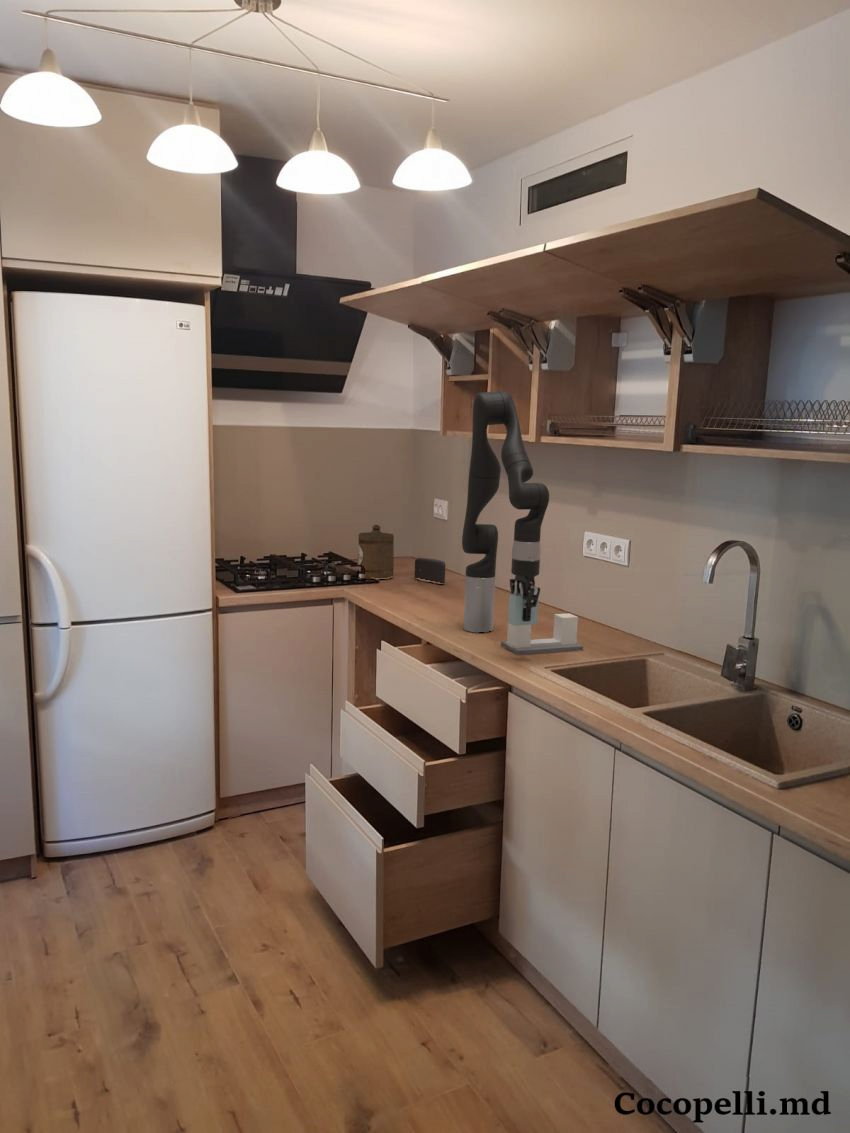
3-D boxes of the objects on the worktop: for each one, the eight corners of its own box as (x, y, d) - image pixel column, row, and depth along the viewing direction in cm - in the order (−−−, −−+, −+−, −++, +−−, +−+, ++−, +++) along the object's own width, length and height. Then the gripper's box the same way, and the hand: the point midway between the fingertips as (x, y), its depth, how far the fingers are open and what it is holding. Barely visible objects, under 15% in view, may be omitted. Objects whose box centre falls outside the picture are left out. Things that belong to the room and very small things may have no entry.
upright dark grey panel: (450, 584, 341) (451, 561, 340) (442, 586, 338) (443, 562, 336) (421, 579, 352) (421, 556, 351) (413, 580, 349) (414, 557, 347)
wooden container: (364, 573, 361) (365, 522, 358) (397, 575, 358) (399, 524, 354) (352, 579, 347) (353, 525, 344) (386, 581, 343) (388, 527, 340)
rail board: (500, 645, 247) (502, 614, 245) (563, 641, 254) (565, 611, 253) (517, 655, 237) (519, 622, 235) (583, 650, 244) (584, 619, 242)
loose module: (507, 622, 231) (509, 594, 230) (530, 621, 233) (532, 592, 232) (513, 625, 228) (515, 596, 226) (536, 624, 230) (538, 595, 229)
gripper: (501, 553, 232) (498, 614, 236) (525, 562, 219) (522, 626, 223) (526, 552, 235) (523, 612, 238) (551, 561, 222) (547, 624, 225)
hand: (522, 619), depth 230 cm, fingers closed on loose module, 3 cm apart
